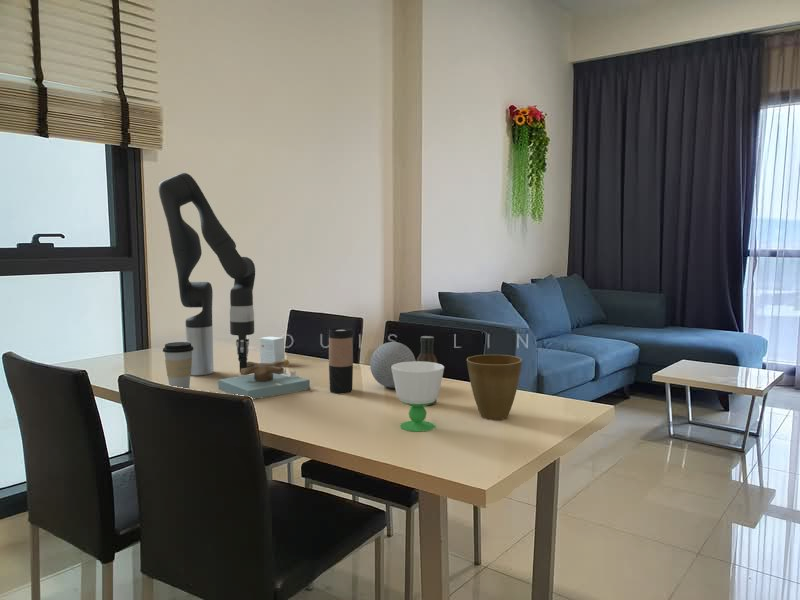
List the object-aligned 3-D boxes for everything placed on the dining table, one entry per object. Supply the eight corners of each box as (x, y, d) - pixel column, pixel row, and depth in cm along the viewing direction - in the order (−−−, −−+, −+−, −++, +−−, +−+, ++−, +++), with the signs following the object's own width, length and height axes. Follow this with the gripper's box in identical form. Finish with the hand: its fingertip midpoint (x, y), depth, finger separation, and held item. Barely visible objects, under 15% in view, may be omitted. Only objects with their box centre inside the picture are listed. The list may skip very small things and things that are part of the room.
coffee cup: (184, 394, 194) (183, 346, 192) (157, 392, 196) (156, 345, 194) (200, 387, 203) (199, 342, 202) (174, 385, 205) (172, 341, 203)
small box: (285, 364, 241) (284, 337, 240) (275, 366, 237) (274, 339, 236) (270, 362, 246) (269, 336, 245) (259, 364, 241) (259, 337, 240)
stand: (218, 388, 201) (217, 373, 200) (277, 378, 215) (277, 364, 215) (249, 400, 185) (248, 384, 185) (310, 389, 200) (310, 374, 200)
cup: (404, 437, 151) (404, 373, 149) (383, 422, 163) (383, 363, 162) (453, 430, 156) (454, 369, 155) (429, 416, 169) (429, 359, 167)
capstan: (260, 387, 188) (260, 371, 188) (225, 379, 199) (225, 364, 198) (305, 376, 204) (305, 361, 203) (271, 370, 214) (271, 356, 213)
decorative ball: (415, 393, 195) (415, 346, 194) (368, 392, 196) (367, 345, 195) (416, 382, 210) (416, 338, 209) (372, 381, 211) (372, 338, 210)
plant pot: (499, 406, 179) (500, 352, 178) (532, 419, 166) (533, 361, 165) (455, 413, 173) (456, 356, 171) (486, 427, 159) (487, 366, 158)
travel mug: (334, 395, 193) (333, 331, 191) (325, 389, 200) (325, 328, 198) (356, 392, 196) (356, 330, 194) (347, 387, 203) (347, 327, 201)
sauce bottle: (435, 406, 179) (435, 338, 177) (414, 405, 181) (414, 338, 179) (438, 401, 185) (439, 335, 184) (418, 400, 187) (418, 334, 185)
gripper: (253, 321, 192) (254, 376, 194) (254, 316, 205) (255, 368, 207) (228, 322, 191) (230, 377, 192) (231, 317, 203) (232, 368, 205)
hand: (243, 372), depth 199 cm, fingers closed
